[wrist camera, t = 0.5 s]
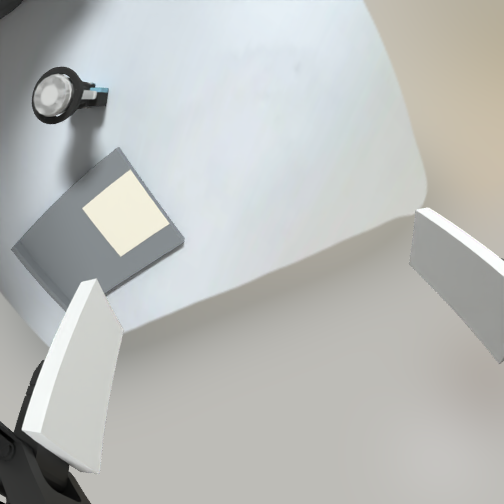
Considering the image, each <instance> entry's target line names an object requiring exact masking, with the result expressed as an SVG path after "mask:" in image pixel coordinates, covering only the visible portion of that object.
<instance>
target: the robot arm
mask: <svg viewBox="0 0 504 504" xmlns="http://www.w3.org/2000/svg"><path fill="white" fill-rule="evenodd" d="M22 1H23V0H0V18H2V17H4V16H5V15H7V14H8V13H9V12H11V11H12V10H13V9H14V8H16V7H17V6H18V5H19V4H20V3H21V2H22ZM409 265H410V266H411V267H412V268H413V269H414V270H415V271H416V272H417V273H418V274H419V275H420V276H421V277H422V278H423V279H424V280H425V281H426V282H427V283H428V284H429V285H430V286H431V287H432V288H433V289H434V290H435V291H436V292H437V293H438V294H439V295H440V296H441V297H442V298H443V299H444V301H446V303H447V304H448V305H449V306H450V307H451V308H452V309H453V310H454V311H455V312H456V314H457V315H458V316H459V317H460V318H461V319H462V320H463V321H464V322H465V324H466V325H467V326H468V327H469V328H470V329H471V331H472V332H473V333H474V334H475V335H476V336H477V337H478V339H479V340H480V341H481V342H482V344H483V345H484V346H485V347H486V348H487V350H488V351H489V352H490V353H491V355H492V356H493V357H494V358H495V360H496V361H497V362H498V363H499V364H500V363H501V362H503V361H504V259H502V258H500V257H498V256H497V255H495V254H494V253H493V252H491V251H490V250H489V249H488V248H486V247H485V246H484V245H482V244H481V243H480V242H478V241H477V240H476V239H474V238H473V237H472V236H470V235H469V234H467V233H466V232H464V231H463V230H462V229H460V228H459V227H457V226H456V225H454V224H453V223H452V222H450V221H449V220H447V219H445V218H444V217H443V216H441V215H439V214H438V213H436V212H435V211H433V210H432V209H430V208H423V209H418V210H416V211H415V222H414V232H413V240H412V248H411V255H410V262H409ZM123 331H124V329H123V328H122V326H121V324H120V322H119V321H118V319H117V317H116V315H115V313H114V311H113V310H112V308H111V306H110V304H109V302H108V300H107V298H106V296H105V294H104V292H103V290H102V288H101V286H100V284H99V282H98V280H97V278H96V279H92V280H88V281H83V282H81V283H80V285H79V287H78V289H77V291H76V293H75V295H74V297H73V299H72V301H71V303H70V305H69V307H68V309H67V311H66V313H65V315H64V317H63V319H62V322H61V324H60V326H59V328H58V330H57V333H56V335H55V337H54V339H53V342H52V344H51V346H50V349H49V351H48V354H47V356H46V359H45V360H42V362H41V363H40V364H39V366H38V367H37V368H36V370H35V371H34V373H33V376H32V378H31V381H30V386H28V389H27V392H26V395H27V396H25V398H24V401H23V404H22V407H21V410H20V413H19V417H18V420H17V423H16V427H15V430H14V433H13V432H12V431H11V430H10V429H9V428H7V427H6V426H5V425H4V424H3V423H2V422H0V494H1V495H3V496H4V497H6V501H7V502H6V504H91V503H90V501H89V500H88V499H87V497H86V496H85V494H84V492H83V491H82V489H81V487H80V486H79V484H78V482H77V481H76V479H75V478H74V476H73V475H72V474H71V473H70V472H68V471H69V465H70V466H72V467H74V468H75V469H77V470H78V471H80V472H86V473H94V474H100V466H101V455H102V446H103V438H104V430H105V423H106V417H107V410H108V404H109V398H110V392H111V387H112V382H113V376H114V372H115V367H116V362H117V357H118V353H119V348H120V344H121V339H122V335H123ZM0 504H5V503H3V502H1V501H0Z"/></svg>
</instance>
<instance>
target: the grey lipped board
mask: <svg viewBox="0 0 504 504" xmlns="http://www.w3.org/2000/svg"><path fill="white" fill-rule="evenodd" d="M182 243H184V237H183V236H182V234H181V233H180V232H179V230H178V229H177V228H176V226H175V225H174V224H173V222H172V221H171V220H170V218H169V217H168V216H167V214H166V213H165V211H164V210H163V209H162V207H161V206H160V205H159V203H158V202H157V200H156V199H155V198H154V196H153V195H152V194H151V192H150V191H149V189H148V188H147V187H146V185H145V184H144V182H143V181H142V179H141V178H140V177H139V175H138V174H137V172H136V171H135V170H134V168H133V167H132V165H131V164H130V162H129V161H128V159H127V158H126V157H125V155H124V154H123V152H122V151H121V149H120V148H119V147H118V148H116V149H115V150H114V151H113V152H111V153H110V154H109V155H108V156H106V157H105V158H104V159H103V160H101V161H100V162H99V163H98V164H97V165H95V166H94V167H93V168H92V169H91V170H90V171H88V172H87V173H86V174H85V175H84V176H83V177H82V178H81V179H79V180H78V181H77V182H76V183H75V184H74V185H73V186H72V187H71V188H70V189H68V190H67V191H66V192H65V193H64V194H63V195H62V196H61V197H60V198H59V199H58V200H57V201H56V202H55V203H54V204H53V205H52V206H51V207H50V208H49V209H48V210H47V211H46V212H45V213H44V214H43V215H42V216H41V217H40V218H39V219H38V220H37V221H36V223H35V224H34V225H33V226H32V227H31V228H30V229H29V230H28V231H27V232H26V234H25V235H24V236H23V237H22V238H21V239H20V240H19V241H18V242H17V243H16V244H15V245H14V246H13V248H12V249H11V250H12V251H13V252H14V254H15V255H16V256H17V258H18V259H19V260H20V261H21V263H22V264H23V265H24V266H25V267H26V269H27V270H28V271H29V272H30V273H31V275H32V276H33V277H34V278H35V279H36V280H37V282H38V283H39V284H40V285H41V286H42V287H43V288H44V289H45V290H46V292H47V293H48V294H49V295H50V296H51V297H52V298H53V299H54V300H55V301H56V302H57V303H58V304H59V305H60V306H61V307H62V308H63V309H64V311H65V312H66V311H67V309H68V307H69V305H70V303H71V301H72V299H73V297H74V295H75V293H76V291H77V289H78V287H79V285H80V283H81V282H83V281H88V280H92V279H96V278H97V280H98V282H99V284H100V286H101V288H102V290H103V292H104V294H105V293H106V292H108V291H109V290H111V289H112V288H114V287H115V286H117V285H118V284H120V283H121V282H123V281H124V280H126V279H127V278H129V277H130V276H132V275H133V274H135V273H136V272H138V271H140V270H141V269H143V268H144V267H146V266H147V265H149V264H150V263H152V262H154V261H155V260H157V259H158V258H160V257H161V256H163V255H165V254H166V253H168V252H169V251H171V250H173V249H174V248H176V247H177V246H179V245H181V244H182Z"/></svg>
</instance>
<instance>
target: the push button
mask: <svg viewBox="0 0 504 504" xmlns="http://www.w3.org/2000/svg"><path fill="white" fill-rule="evenodd" d="M62 74H66V75H68V76H69V77H70V78H67V77H65V76H64V75H62ZM107 94H108V88H95V83H87V82H82V80H81V79H80V78H79V77H78V75H77V74H76V73H75V72H74V71H73V70H72V69H70V68H67V67H56V68H53V69H51V70H49V71H47V72H46V73H45V74H44V75H43V76H42V77H41V78H40V79H39V81H38V82H37V84H36V86H35V88H34V91H33V95H32V107H33V111H34V113H35V115H36V117H37V118H38V119H39V120H40V121H42V122H43V123H46V124H56V123H60V122H62V121H64V120H66V119H67V118H68V117H69V116H71V115H73V113H74V112H75V111H76V110H77V109H82V108H91V107H87V106H106V100H107ZM60 113H63V114H62V115H60V116H58V117H57V116H56V115H58V114H60Z"/></svg>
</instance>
